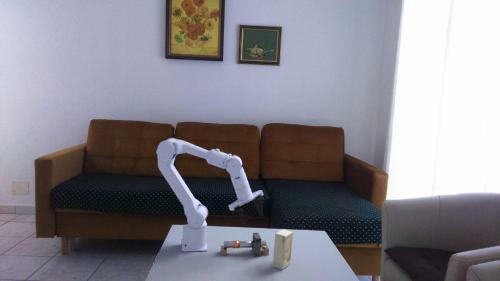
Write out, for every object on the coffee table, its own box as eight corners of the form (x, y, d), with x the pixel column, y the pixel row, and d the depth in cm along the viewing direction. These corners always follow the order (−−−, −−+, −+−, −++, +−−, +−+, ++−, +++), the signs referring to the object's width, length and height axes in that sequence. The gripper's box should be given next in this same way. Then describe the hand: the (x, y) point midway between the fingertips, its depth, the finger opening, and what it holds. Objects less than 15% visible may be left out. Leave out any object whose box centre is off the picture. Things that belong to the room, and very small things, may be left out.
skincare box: (283, 270, 121) (285, 236, 120) (272, 266, 124) (274, 233, 122) (290, 263, 127) (293, 231, 125) (280, 260, 129) (282, 228, 128)
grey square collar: (255, 256, 130) (256, 239, 130) (252, 248, 137) (253, 232, 136) (260, 256, 131) (261, 239, 130) (257, 248, 137) (258, 232, 136)
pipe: (221, 255, 129) (222, 243, 129) (220, 251, 133) (221, 238, 133) (268, 255, 133) (269, 242, 132) (266, 250, 136) (267, 238, 136)
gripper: (230, 195, 125) (242, 230, 126) (262, 179, 132) (273, 213, 133) (222, 194, 131) (233, 227, 132) (253, 179, 138) (264, 211, 139)
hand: (253, 220), depth 133 cm, fingers open, 7 cm apart
